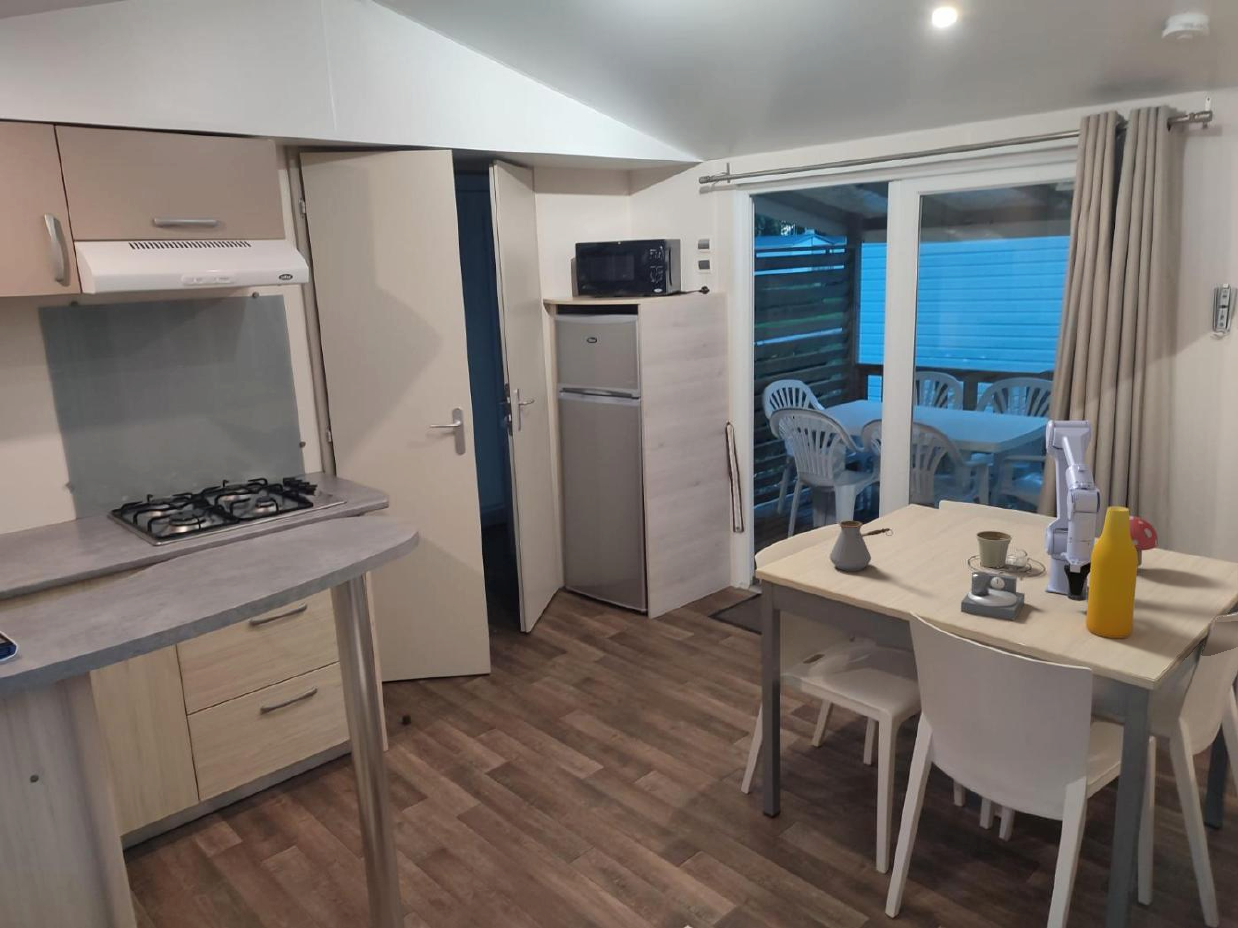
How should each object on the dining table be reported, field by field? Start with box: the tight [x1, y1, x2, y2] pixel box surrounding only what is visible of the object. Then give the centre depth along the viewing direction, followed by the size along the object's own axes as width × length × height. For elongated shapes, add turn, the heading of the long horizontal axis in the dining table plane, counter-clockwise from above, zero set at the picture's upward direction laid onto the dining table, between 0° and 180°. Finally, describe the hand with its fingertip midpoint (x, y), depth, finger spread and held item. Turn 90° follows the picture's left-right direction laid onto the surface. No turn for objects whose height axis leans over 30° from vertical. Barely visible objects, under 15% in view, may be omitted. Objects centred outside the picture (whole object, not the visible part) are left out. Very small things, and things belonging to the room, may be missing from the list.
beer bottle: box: [1085, 505, 1139, 639], centre depth 197 cm, size 9×9×29 cm
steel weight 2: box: [1067, 577, 1088, 602], centre depth 212 cm, size 4×4×5 cm
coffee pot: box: [829, 520, 894, 572], centre depth 245 cm, size 21×12×15 cm, turn 27°
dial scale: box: [960, 571, 1025, 621], centre depth 216 cm, size 13×12×6 cm
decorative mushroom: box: [1129, 515, 1159, 568], centre depth 237 cm, size 13×13×15 cm
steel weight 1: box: [970, 571, 989, 597], centre depth 216 cm, size 4×4×5 cm
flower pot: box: [975, 530, 1013, 569], centre depth 246 cm, size 9×9×9 cm
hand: (1077, 591), depth 212 cm, fingers closed on steel weight 2, 4 cm apart
